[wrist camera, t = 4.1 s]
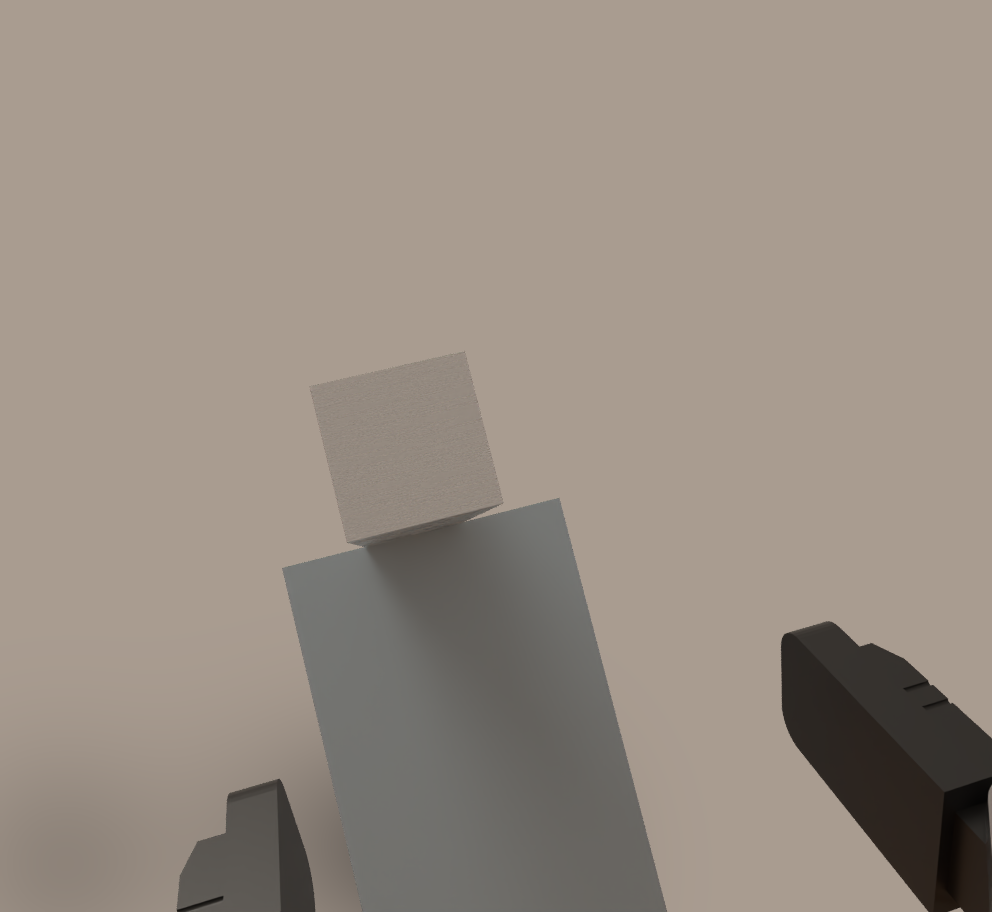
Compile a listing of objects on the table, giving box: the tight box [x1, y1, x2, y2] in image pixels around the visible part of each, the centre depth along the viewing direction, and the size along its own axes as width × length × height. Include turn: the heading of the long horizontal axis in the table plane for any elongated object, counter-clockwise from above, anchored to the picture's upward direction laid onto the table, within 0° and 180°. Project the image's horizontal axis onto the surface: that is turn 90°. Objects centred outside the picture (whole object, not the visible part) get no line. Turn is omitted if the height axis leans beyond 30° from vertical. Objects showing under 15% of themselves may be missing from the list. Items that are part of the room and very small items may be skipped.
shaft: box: [310, 352, 503, 547], centre depth 34 cm, size 30×4×4 cm, turn 7°
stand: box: [282, 498, 667, 912], centre depth 39 cm, size 20×12×32 cm, turn 8°
